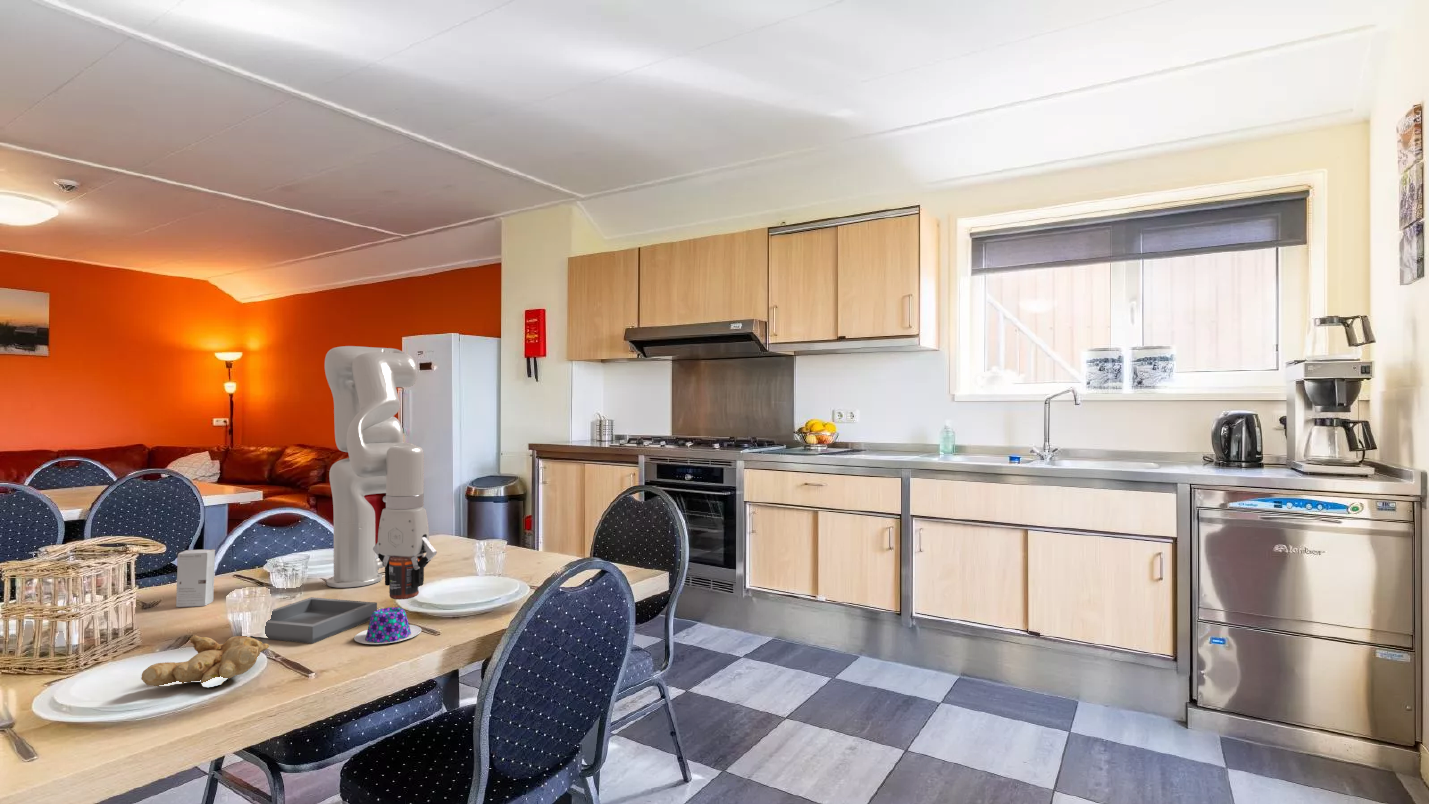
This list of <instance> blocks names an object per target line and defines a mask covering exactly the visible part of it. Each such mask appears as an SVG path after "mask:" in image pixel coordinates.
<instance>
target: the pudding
mask: <svg viewBox="0 0 1429 804" xmlns="http://www.w3.org/2000/svg"><path fill="white" fill-rule="evenodd" d="M421 632H422V628H421V627H420V626H418V625H415V624H409V620H408V617H407V612H406V611H405V609H403V608H402V607H396V606H395V607H391V606H389V607H385V608H379V609H377V611H374V612H373V613H372V615H371V619H370V621H369V622H368V626H367V629H365V630H363V631H360V632H359V633H357V634H356V635H354V637H353V640H354V641H355V642H357V643H360V644H365V645H387V644H392V643H397V642H401V641H407V640H409V639H412V638H414V637H416V636H418V635H419V634H420V633H421Z"/></svg>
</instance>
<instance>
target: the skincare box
mask: <svg viewBox="0 0 1429 804" xmlns="http://www.w3.org/2000/svg"><path fill="white" fill-rule="evenodd" d="M215 561H216V550H215V549H186V550H184V551H181V552H179V553H177V568H176V569H177V570H176V571H177V572H176V597H175V598H176V601H175V607H176V608H185V607H187V608H189V607H204V606H207V605H209V604H212V602H214V591H215V588H214V587H215V566H216V564H215Z"/></svg>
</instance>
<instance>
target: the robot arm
mask: <svg viewBox="0 0 1429 804" xmlns="http://www.w3.org/2000/svg"><path fill="white" fill-rule="evenodd" d="M324 372H325V373H324V374H325V378H326V380H327V385H328V387H329V388H330V390H331V394H332V398H333V408H334V409H333V414H334V415H333V416H334V417H333V418H334V420H333V421H334V424H333V425H334V439H335V444H336V447H337V449H338V450H339V451H341V452H345V453H348V458H343V459H340V460H338V461H336V462H334V463H333V464H332V465H331V466H330V469H329V473H328V474H329V484H330V489H331V495H332V505H333V506H332V507H333V508H332V509H333V575H332V576H330V577H329V578H327V579H326V585H327V587H330V588H337V589H338V588H341V589H342V588H345V589H346V588H355V587H363V586H368V585H373V584H376V583H378V582H379V583H380V581H382V578H383V575H382V573H380V572H378V571H379V570H380V569H382V568H384V585H385V586H389V560H390V557H391V556H396V557H411V560H412V563H413V567H414V569H413V570H412V571H411V587H412V588H417V587H419V588H420V587H422V586H423V585H424V582H425V581H424V580H425V576H424V575H425V568H426V567H427V566H428V563H430V562H431V560H432V559H434V557H435V556H436V555H437V554H438V552H437V550H436V549H435V548H434V546H433V545H432V544H431V542H430V529H429V528H430V527H429V519H428V515H427V514H428V513H427V510H426V508H424V505H425V504H424V503H425V502H424V489H425V488H424V486H425V485H424V483H425V481H424V480H425V479H424V478H425V475H424V474H425V453H424V449H423V448H422V447H421V446H418V445H415V444H414V443H411V442H406V441H405V442H404V430H403V426H402V424H401V421H400V420H399V419H398V418H397V417H395V416H396V414H398V412H399V411H400V409H401V401H400V398H399V394H398V390H397V388H411V387H413V386H414V385H415V384H416V382H417V379H418V365H417V363H416V361H415V359H414V357H413V356H411V355H410V354H409V353H407V352H405V351H402V350H400V349H398V348H392V347H388V348H387V347H372V346H370V347H369V346H358V345H357V346H355V345H345V346H337V347H332V348H331V349H329V350H328V351H327V353H326V354H325V358H324ZM376 494H385V495H384V496H383V497H382V501H383V503H385V508H383V509H382V511H381V515H380V519H379V526H378V533H377V543H376V511H375V509H374V507H373V505H372V504H371V503H370V502H369V501H368V500H367V498H365V496H368V495H376ZM376 556H377V557H378V559H379V560H376ZM417 557H418V558H417ZM418 559H419V561H418Z"/></svg>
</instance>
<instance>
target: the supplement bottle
mask: <svg viewBox="0 0 1429 804" xmlns="http://www.w3.org/2000/svg"><path fill="white" fill-rule="evenodd" d="M417 558H418V557H417ZM418 561H419V559H418ZM413 569H414V567H413V563H412V560H411V557H396V556H391V557H390V560H389V585H388V586H389V591H388V593H389V597H390V598H391V599H392V600H408V599H412V598H415V597H417V596H418V595H419V593H420V592H419V591H420V586H419V587H417V588H412V587H411V571H412V570H413Z"/></svg>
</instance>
